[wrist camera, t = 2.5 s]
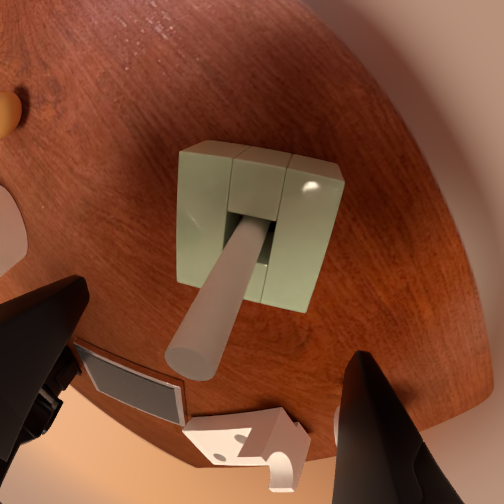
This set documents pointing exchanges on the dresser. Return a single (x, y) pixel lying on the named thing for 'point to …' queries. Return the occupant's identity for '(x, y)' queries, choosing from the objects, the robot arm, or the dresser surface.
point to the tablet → (134, 384)
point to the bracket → (254, 443)
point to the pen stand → (257, 205)
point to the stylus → (217, 304)
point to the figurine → (9, 112)
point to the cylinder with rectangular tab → (11, 233)
